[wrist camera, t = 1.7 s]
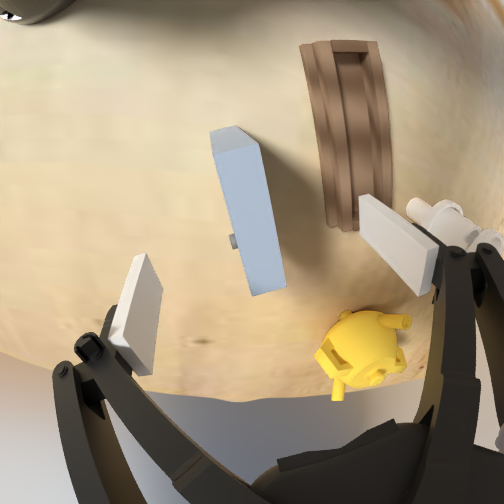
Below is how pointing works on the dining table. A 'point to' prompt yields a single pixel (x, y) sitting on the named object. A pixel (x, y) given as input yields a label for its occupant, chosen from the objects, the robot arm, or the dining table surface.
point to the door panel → (248, 208)
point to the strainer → (452, 225)
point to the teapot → (362, 349)
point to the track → (349, 125)
